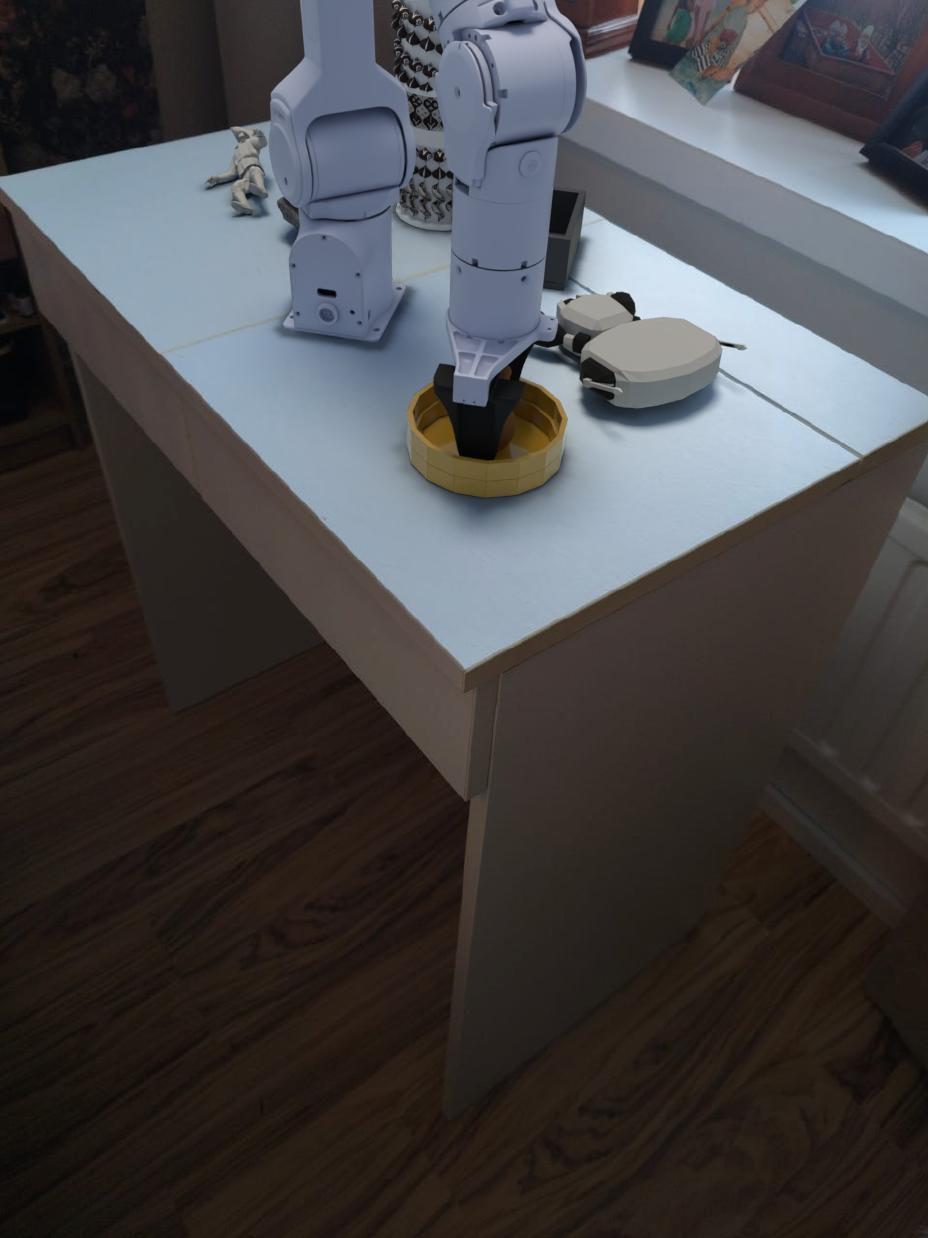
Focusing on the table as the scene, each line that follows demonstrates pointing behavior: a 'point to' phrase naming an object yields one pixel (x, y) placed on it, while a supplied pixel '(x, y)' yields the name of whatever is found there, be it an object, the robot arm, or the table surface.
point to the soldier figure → (245, 168)
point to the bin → (563, 235)
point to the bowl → (513, 467)
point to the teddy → (510, 422)
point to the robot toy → (635, 351)
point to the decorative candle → (422, 117)
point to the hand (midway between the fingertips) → (485, 436)
